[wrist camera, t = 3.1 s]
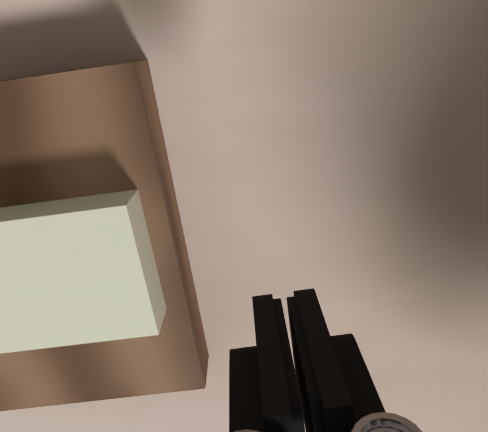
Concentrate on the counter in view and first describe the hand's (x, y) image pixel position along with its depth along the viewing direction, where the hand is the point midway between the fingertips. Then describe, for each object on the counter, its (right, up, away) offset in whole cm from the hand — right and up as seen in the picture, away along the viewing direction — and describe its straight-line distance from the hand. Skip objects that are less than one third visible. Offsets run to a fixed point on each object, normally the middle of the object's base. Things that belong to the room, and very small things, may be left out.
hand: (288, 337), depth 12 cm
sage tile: (-10, +1, +8) cm, 13 cm away
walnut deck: (-10, +2, +10) cm, 14 cm away
